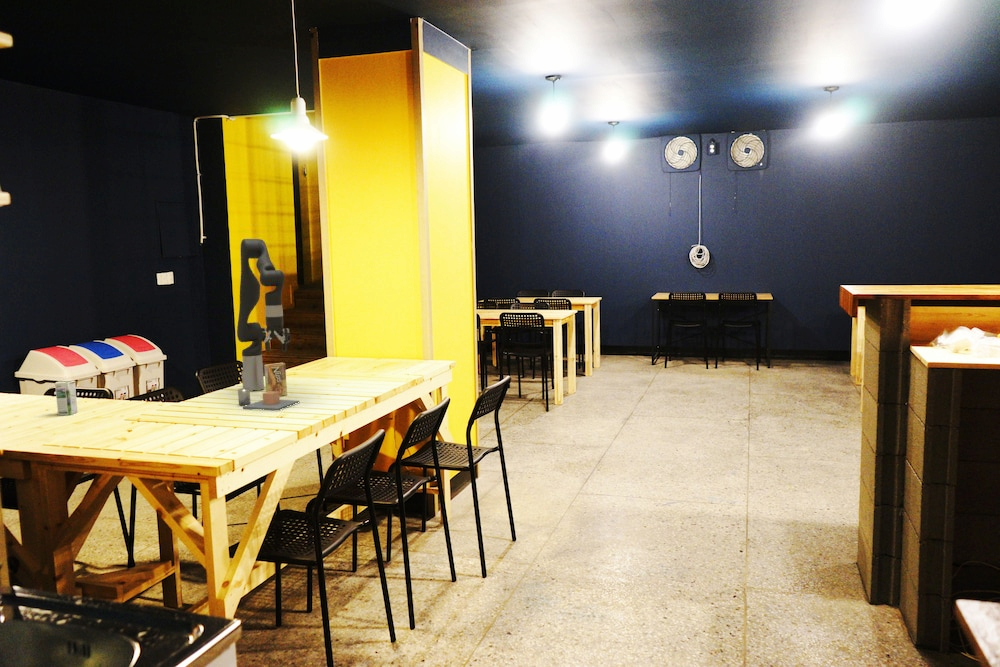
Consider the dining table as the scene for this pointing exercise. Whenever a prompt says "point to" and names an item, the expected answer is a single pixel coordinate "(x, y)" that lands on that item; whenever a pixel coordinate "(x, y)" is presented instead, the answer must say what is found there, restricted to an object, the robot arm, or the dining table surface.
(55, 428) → the dining table surface
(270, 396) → the terracotta block
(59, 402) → the syrup box
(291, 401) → the slate board
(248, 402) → the grey metal cylinder
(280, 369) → the candy box
